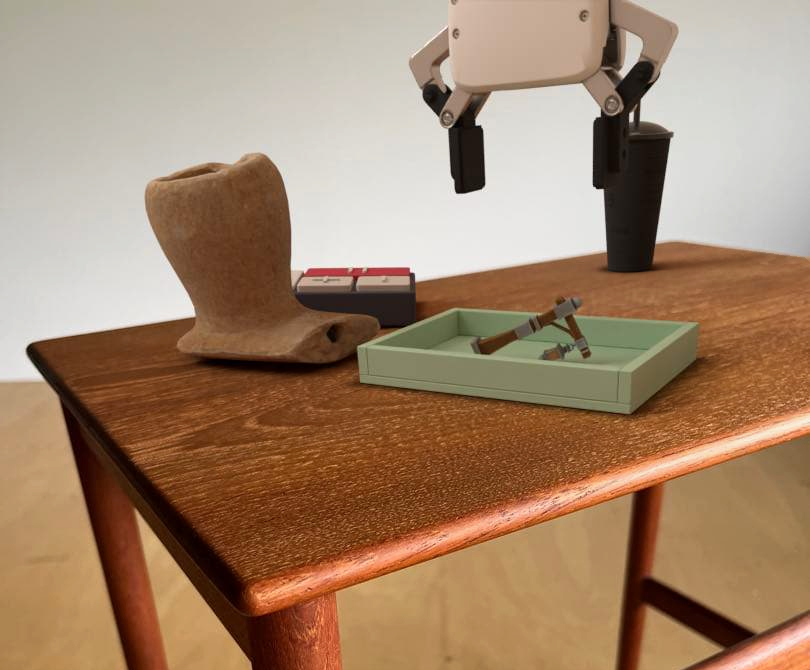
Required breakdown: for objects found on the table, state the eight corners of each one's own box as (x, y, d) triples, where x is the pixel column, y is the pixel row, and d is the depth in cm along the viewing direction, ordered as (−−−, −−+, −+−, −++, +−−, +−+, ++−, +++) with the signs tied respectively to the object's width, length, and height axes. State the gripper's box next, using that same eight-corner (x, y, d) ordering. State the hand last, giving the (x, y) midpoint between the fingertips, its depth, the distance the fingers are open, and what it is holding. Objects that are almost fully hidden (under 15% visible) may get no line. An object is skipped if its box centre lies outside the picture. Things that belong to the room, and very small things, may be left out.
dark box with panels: (415, 282, 76) (242, 284, 76) (416, 332, 78) (247, 334, 78) (415, 263, 86) (261, 265, 86) (415, 308, 88) (265, 310, 88)
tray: (696, 359, 62) (699, 322, 61) (629, 414, 52) (632, 371, 51) (455, 339, 72) (454, 307, 71) (359, 382, 62) (356, 346, 61)
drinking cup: (628, 260, 103) (637, 67, 94) (679, 266, 97) (694, 61, 88) (580, 269, 99) (585, 69, 91) (630, 276, 93) (640, 63, 85)
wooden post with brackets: (602, 353, 59) (575, 291, 58) (495, 398, 62) (468, 340, 61) (604, 347, 61) (578, 286, 59) (499, 391, 64) (473, 334, 63)
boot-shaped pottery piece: (141, 371, 69) (101, 163, 62) (242, 337, 78) (216, 152, 71) (293, 389, 61) (266, 155, 55) (385, 349, 70) (371, 144, 64)
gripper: (705, -160, 48) (687, 178, 55) (433, -97, 57) (449, 187, 64) (661, -188, 42) (647, 192, 50) (367, -113, 51) (393, 200, 59)
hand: (535, 189), depth 57 cm, fingers open, 9 cm apart
